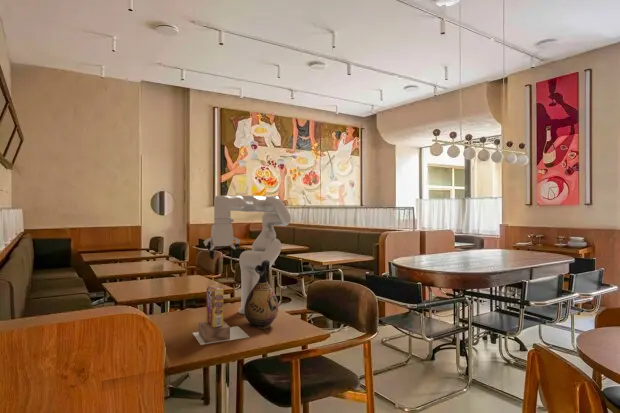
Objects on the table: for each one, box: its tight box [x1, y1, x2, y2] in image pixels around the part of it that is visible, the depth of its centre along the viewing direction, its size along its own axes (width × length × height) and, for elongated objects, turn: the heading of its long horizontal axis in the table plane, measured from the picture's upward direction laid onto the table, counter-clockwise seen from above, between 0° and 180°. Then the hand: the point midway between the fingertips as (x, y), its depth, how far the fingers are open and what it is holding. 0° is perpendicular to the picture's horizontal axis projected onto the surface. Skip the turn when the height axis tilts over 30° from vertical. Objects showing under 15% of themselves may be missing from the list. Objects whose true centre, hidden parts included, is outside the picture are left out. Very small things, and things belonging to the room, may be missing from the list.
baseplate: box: [192, 325, 250, 346], centre depth 167 cm, size 20×16×1 cm
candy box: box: [205, 285, 225, 327], centre depth 165 cm, size 9×4×15 cm, turn 35°
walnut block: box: [198, 319, 231, 344], centre depth 164 cm, size 10×12×5 cm
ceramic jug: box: [244, 260, 279, 330], centre depth 182 cm, size 17×15×30 cm
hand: (222, 258), depth 187 cm, fingers open, 9 cm apart
